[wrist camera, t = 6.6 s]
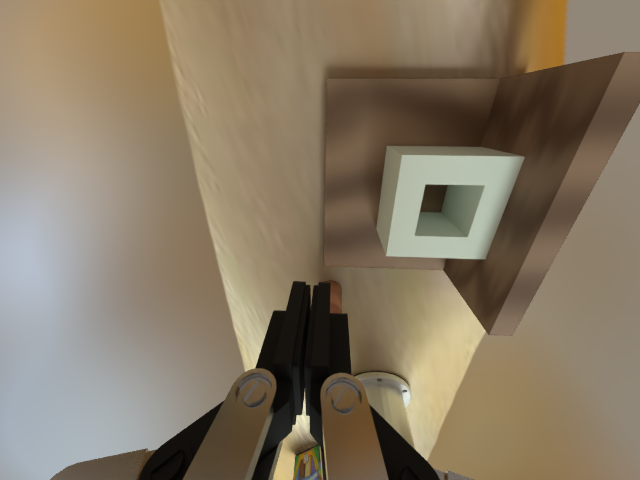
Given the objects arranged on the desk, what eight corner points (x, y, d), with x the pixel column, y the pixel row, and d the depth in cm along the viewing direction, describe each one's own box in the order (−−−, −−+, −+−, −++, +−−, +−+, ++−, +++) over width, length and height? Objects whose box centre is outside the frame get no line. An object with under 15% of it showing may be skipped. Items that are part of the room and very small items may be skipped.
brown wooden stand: (462, 264, 31) (524, 336, 21) (324, 259, 32) (319, 327, 22) (524, 80, 22) (689, 51, 12) (327, 80, 23) (321, 53, 12)
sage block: (455, 231, 27) (485, 259, 22) (376, 228, 28) (386, 256, 22) (481, 146, 23) (525, 156, 18) (386, 145, 23) (402, 155, 18)
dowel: (340, 297, 35) (342, 351, 27) (320, 297, 35) (315, 350, 27) (341, 281, 33) (343, 332, 26) (320, 280, 34) (315, 331, 26)
